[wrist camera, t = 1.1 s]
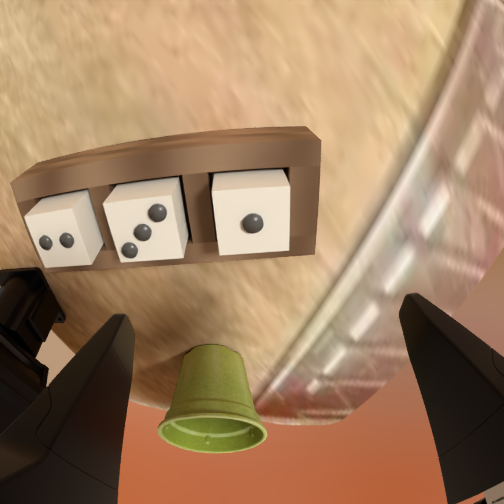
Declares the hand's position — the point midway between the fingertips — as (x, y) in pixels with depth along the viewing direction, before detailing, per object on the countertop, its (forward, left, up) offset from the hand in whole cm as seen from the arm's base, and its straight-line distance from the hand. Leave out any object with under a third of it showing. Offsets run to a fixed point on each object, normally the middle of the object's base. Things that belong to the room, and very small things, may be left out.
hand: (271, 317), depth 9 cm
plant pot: (-5, -19, -12) cm, 23 cm away
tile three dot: (-6, -1, -9) cm, 11 cm away
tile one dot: (0, -1, -9) cm, 9 cm away
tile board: (-6, -1, -12) cm, 13 cm away
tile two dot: (-11, -1, -9) cm, 14 cm away
